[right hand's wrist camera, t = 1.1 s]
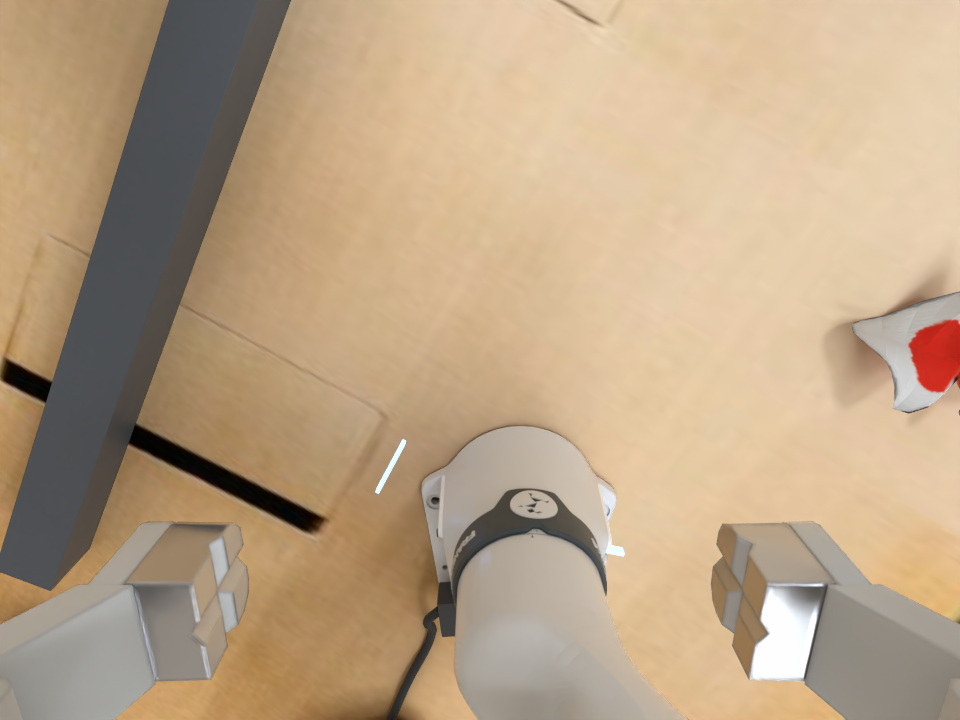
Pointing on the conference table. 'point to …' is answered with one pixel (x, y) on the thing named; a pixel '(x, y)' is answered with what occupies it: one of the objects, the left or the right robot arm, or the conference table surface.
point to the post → (138, 272)
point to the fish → (918, 349)
